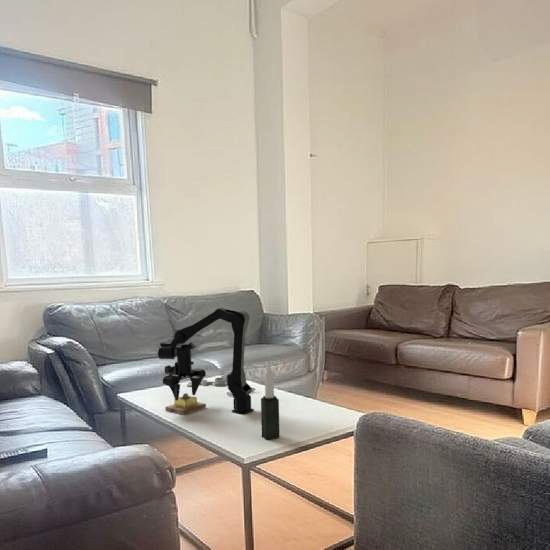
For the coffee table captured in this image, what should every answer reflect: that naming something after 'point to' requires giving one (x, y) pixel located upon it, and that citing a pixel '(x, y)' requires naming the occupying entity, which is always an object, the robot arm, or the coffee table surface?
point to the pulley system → (217, 382)
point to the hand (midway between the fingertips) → (185, 397)
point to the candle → (270, 408)
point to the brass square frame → (185, 402)
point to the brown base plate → (185, 410)
